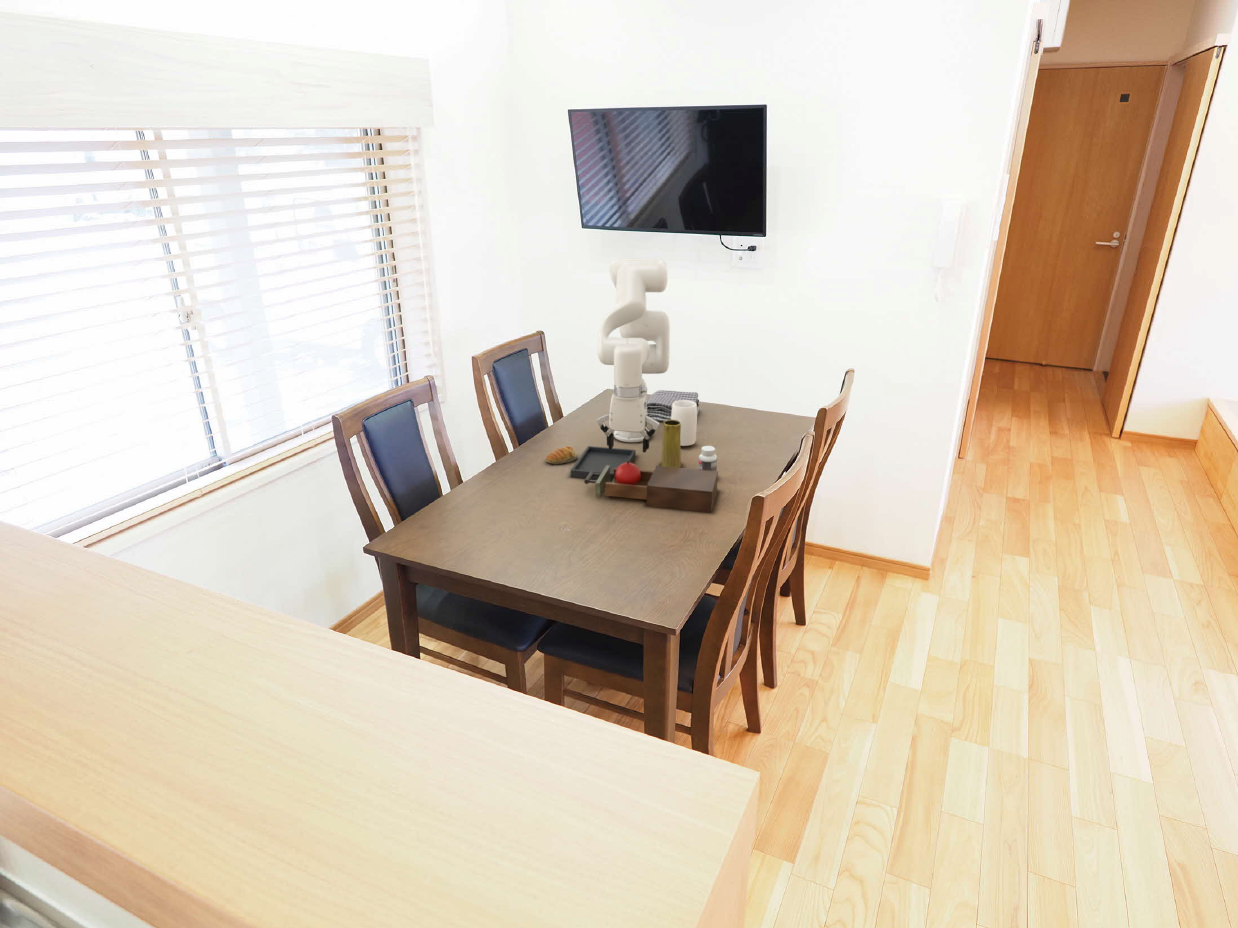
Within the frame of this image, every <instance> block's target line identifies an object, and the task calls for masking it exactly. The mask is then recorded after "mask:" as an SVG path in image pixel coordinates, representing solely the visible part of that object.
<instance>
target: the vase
mask: <svg viewBox="0 0 1238 928" xmlns="http://www.w3.org/2000/svg"><path fill="white" fill-rule="evenodd" d="M662 425H663V426H662V427H663V428H662V451H661V463H660V466H663V467H675V468H682V455H681V454H682V453H681V452H682V451H681V445H680V435H681V422H680V421H678V420H666V421H663V424H662Z"/></svg>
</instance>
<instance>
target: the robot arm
mask: <svg viewBox="0 0 1238 928" xmlns="http://www.w3.org/2000/svg"><path fill="white" fill-rule="evenodd" d="M609 276H610V278H611V281H612V283H613V286H614V287H615V307H614V308H613V309H611V310H610V312H608V313H607V314H606V315H605V317H604V318H603V320H602V321H601V323H600V325H599V328H598V337H597V357H598V360H599V362H600V363H601V364H603V365H604V366H605V365H606V366H613V393H612V394H611V399H610V405H609V413H607V414H605V415H603V416H600V417H598V418H597V419H596V422H597V425H598V426H599V428H600V430H601V431H602V432H603V433H604V435H605V436H606V446H608V448H609V450H611V449H612V448H614V446H615V440H614V439H616V440H617V441H620V442H624V443H641V442H642V453H643V454H644V453H647V450H649V449H650V438H651V437H652V436H653V435H654V434H655V433H656V431H657V430H658V428H659V426H660V421H655V420H653V419H652V418H650V417H648V416H647V401H648V386H647V383H646V381H645V380H644V378H643V375H645V374H646V375H661V374H665V373H666V372H667V371H668V369H669V367H670V345H671V344H670V341H671V340H670V337H671V336H670V332H671V329H670V328H671V327H670V326H671V325H670V319H669V316H668V314H667V313H666V312H665V311H662V310H648V309H647V294H646V293H663V292H664V291H666V288H667V286H668V279H669V274H668V265H667V263H666V261H665V259H663V258H618V259H614V260H613V261H611V263H610V265H609ZM618 328H619V334H620V337H617V336H615V337H612V336H611V337H609V336H610V335H611V333H612V332H614V331H615V330H617V329H618ZM649 342H654V343H649ZM606 421H608V425H606V424H605V422H606ZM648 424H649V425H651V426H652V427H651V429H648V428H647V426H648Z"/></svg>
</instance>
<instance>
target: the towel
mask: <svg viewBox="0 0 1238 928" xmlns="http://www.w3.org/2000/svg"><path fill="white" fill-rule="evenodd" d="M698 397H699V393H698V392H696V391H695V392H694V391H690V392H689V391H676V390H665V389H659V390H657V391H655V392H653V394H651V395H650V397H649V398H648V399H647V416H648V417H650V418H652V419H653V420H655V421H657V422H664V421H666V420H671V413H672V404H673V402H675V401H679V400H689V401H693V402H695V403H696V404H697V415H698V414H699V412H700V404H699V403H700V399H699V398H698Z"/></svg>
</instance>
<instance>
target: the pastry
mask: <svg viewBox="0 0 1238 928" xmlns="http://www.w3.org/2000/svg"><path fill="white" fill-rule="evenodd" d="M577 457H578V455H577V453H576V451H575V449H574V448H573V447H572V446H570V445H566V446H565V447H560V448H555V450H554V451H553V452H550V453H549V454H548V455H547V456H546V461H545V462H547V463H549V464H552V465H562V464H567V463H570V462H571V463H572V462H574V461H576V459H577Z"/></svg>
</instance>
